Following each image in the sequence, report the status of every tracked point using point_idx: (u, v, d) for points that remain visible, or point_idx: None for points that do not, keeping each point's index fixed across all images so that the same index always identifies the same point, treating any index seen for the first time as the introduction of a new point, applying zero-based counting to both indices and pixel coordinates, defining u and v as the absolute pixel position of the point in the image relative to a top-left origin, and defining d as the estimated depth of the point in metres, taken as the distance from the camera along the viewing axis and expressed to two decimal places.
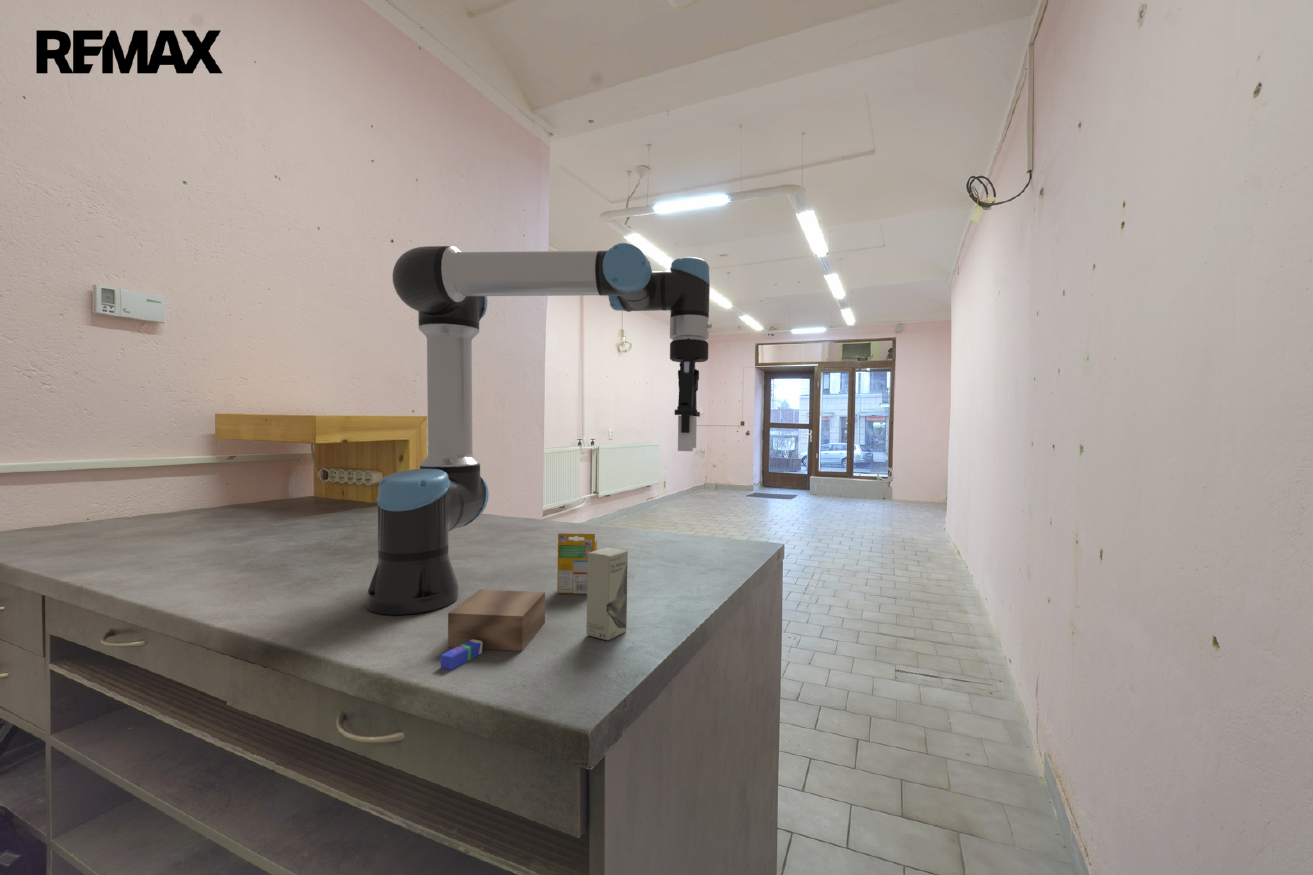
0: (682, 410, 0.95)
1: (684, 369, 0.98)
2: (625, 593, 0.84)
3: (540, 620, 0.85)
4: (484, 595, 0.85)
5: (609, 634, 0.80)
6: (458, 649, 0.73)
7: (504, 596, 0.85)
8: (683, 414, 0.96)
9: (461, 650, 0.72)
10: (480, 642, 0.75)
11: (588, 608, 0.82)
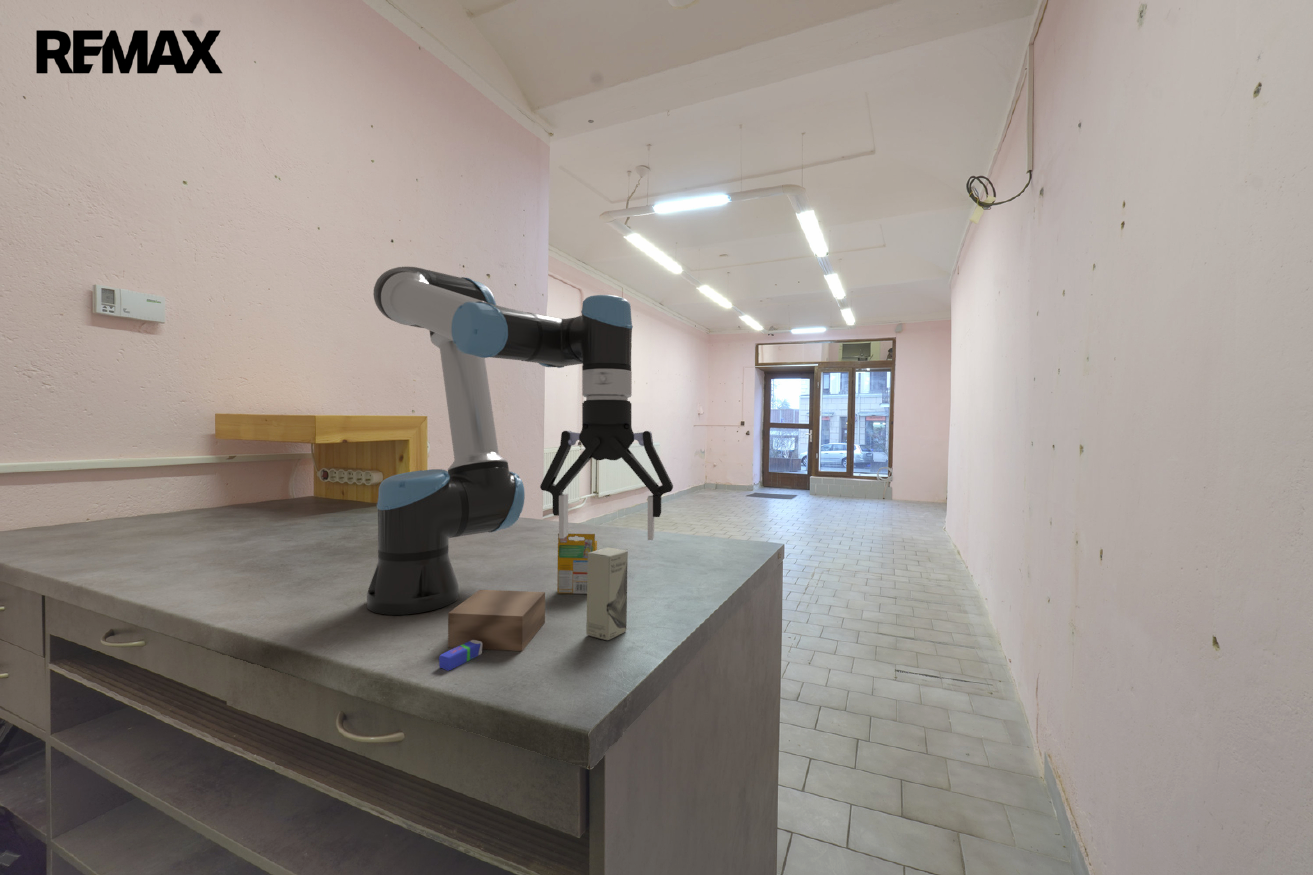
0: None
1: None
2: (625, 593, 0.84)
3: (540, 620, 0.85)
4: (484, 595, 0.85)
5: (609, 634, 0.80)
6: (457, 650, 0.72)
7: (504, 596, 0.85)
8: None
9: (460, 651, 0.72)
10: (480, 643, 0.75)
11: (588, 608, 0.82)
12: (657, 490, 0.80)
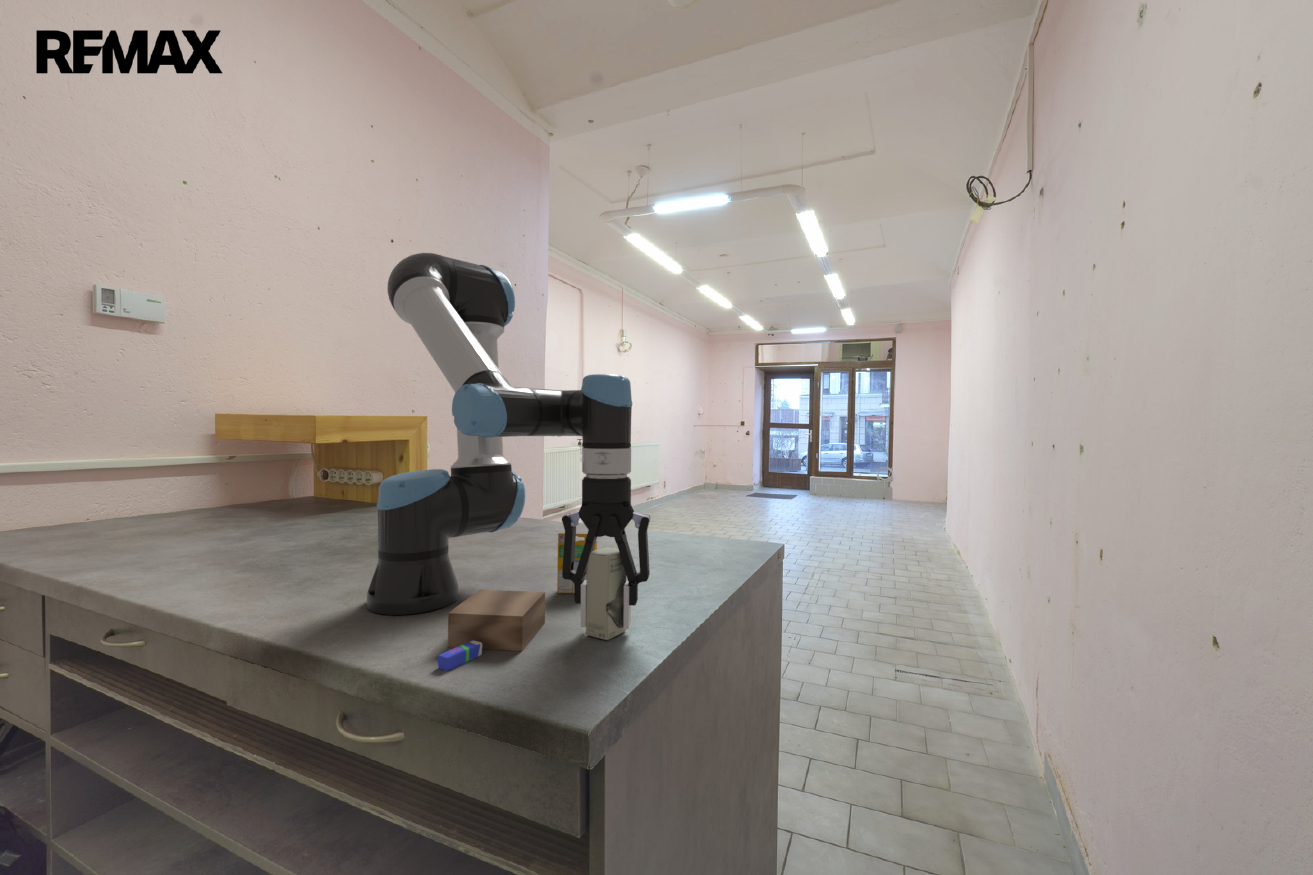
0: None
1: None
2: None
3: (540, 620, 0.85)
4: (484, 595, 0.85)
5: (608, 633, 0.80)
6: (456, 650, 0.72)
7: (504, 596, 0.85)
8: None
9: (459, 651, 0.72)
10: (480, 644, 0.75)
11: (587, 608, 0.82)
12: (634, 580, 0.81)
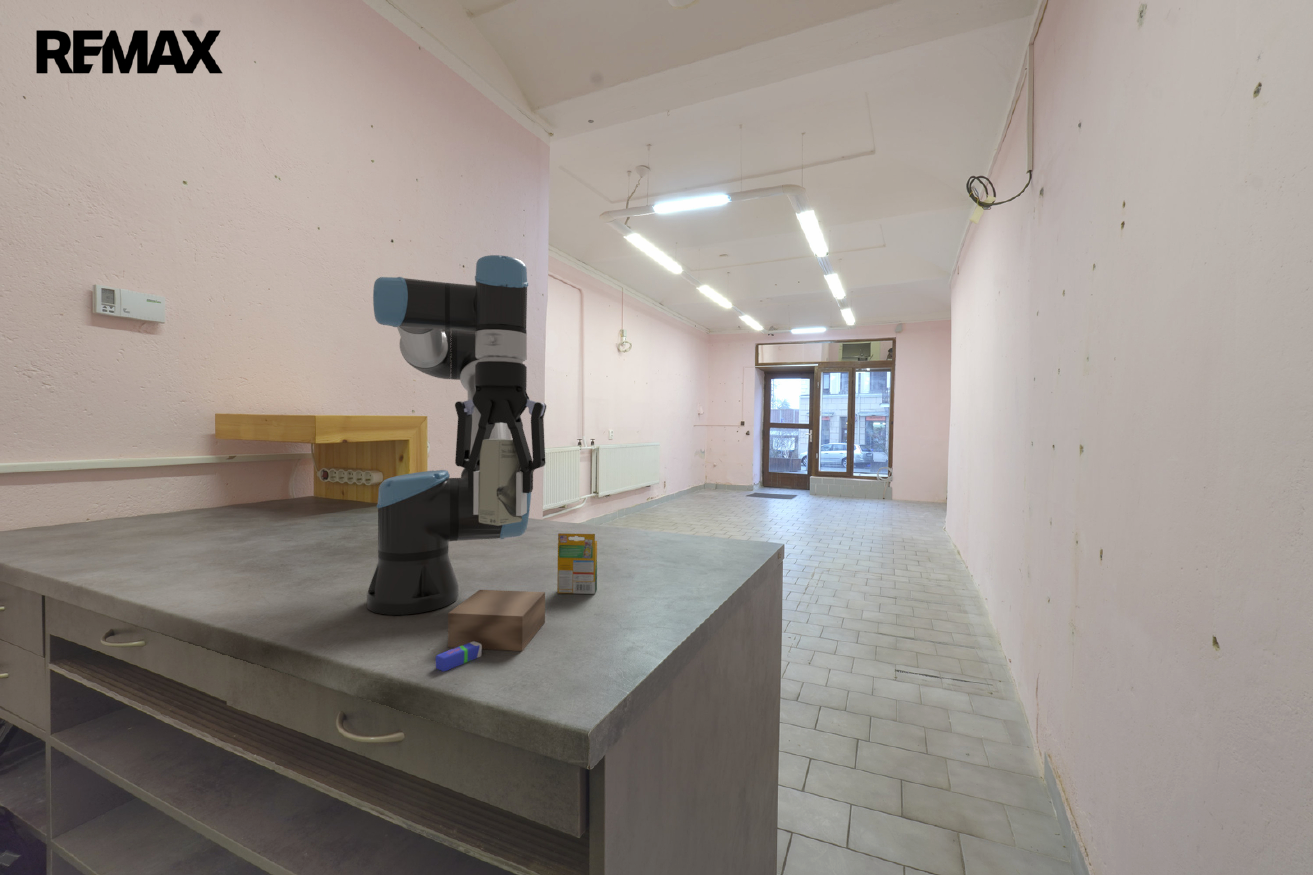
0: None
1: None
2: None
3: (540, 620, 0.85)
4: (484, 595, 0.85)
5: (499, 519, 0.79)
6: (454, 651, 0.72)
7: (504, 596, 0.85)
8: None
9: (457, 652, 0.71)
10: (479, 645, 0.74)
11: (480, 495, 0.81)
12: (526, 466, 0.80)
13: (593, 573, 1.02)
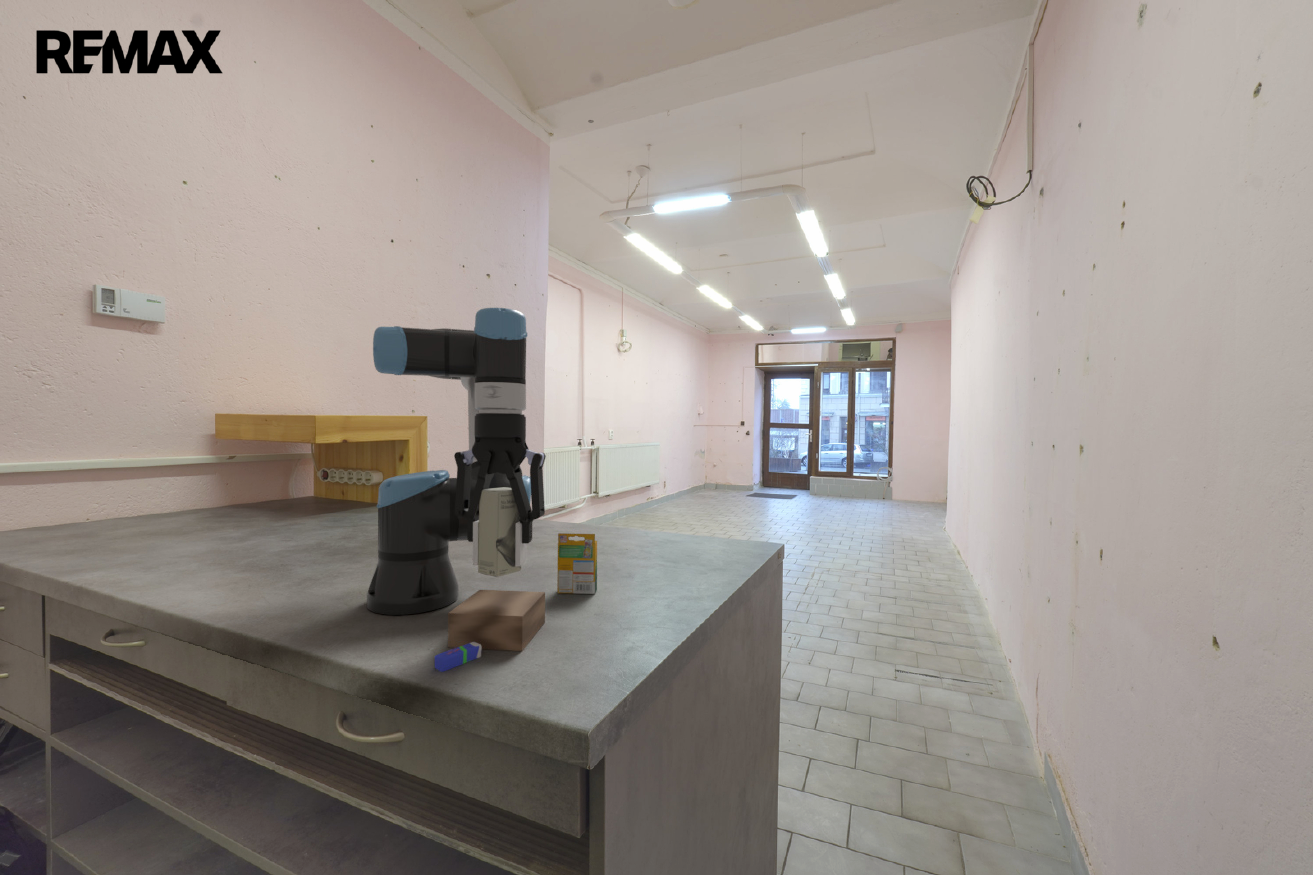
0: None
1: None
2: None
3: (540, 620, 0.85)
4: (484, 595, 0.85)
5: (498, 570, 0.79)
6: (453, 651, 0.72)
7: (504, 596, 0.85)
8: None
9: (455, 653, 0.71)
10: (479, 646, 0.74)
11: (479, 546, 0.81)
12: (526, 517, 0.80)
13: (593, 573, 1.02)
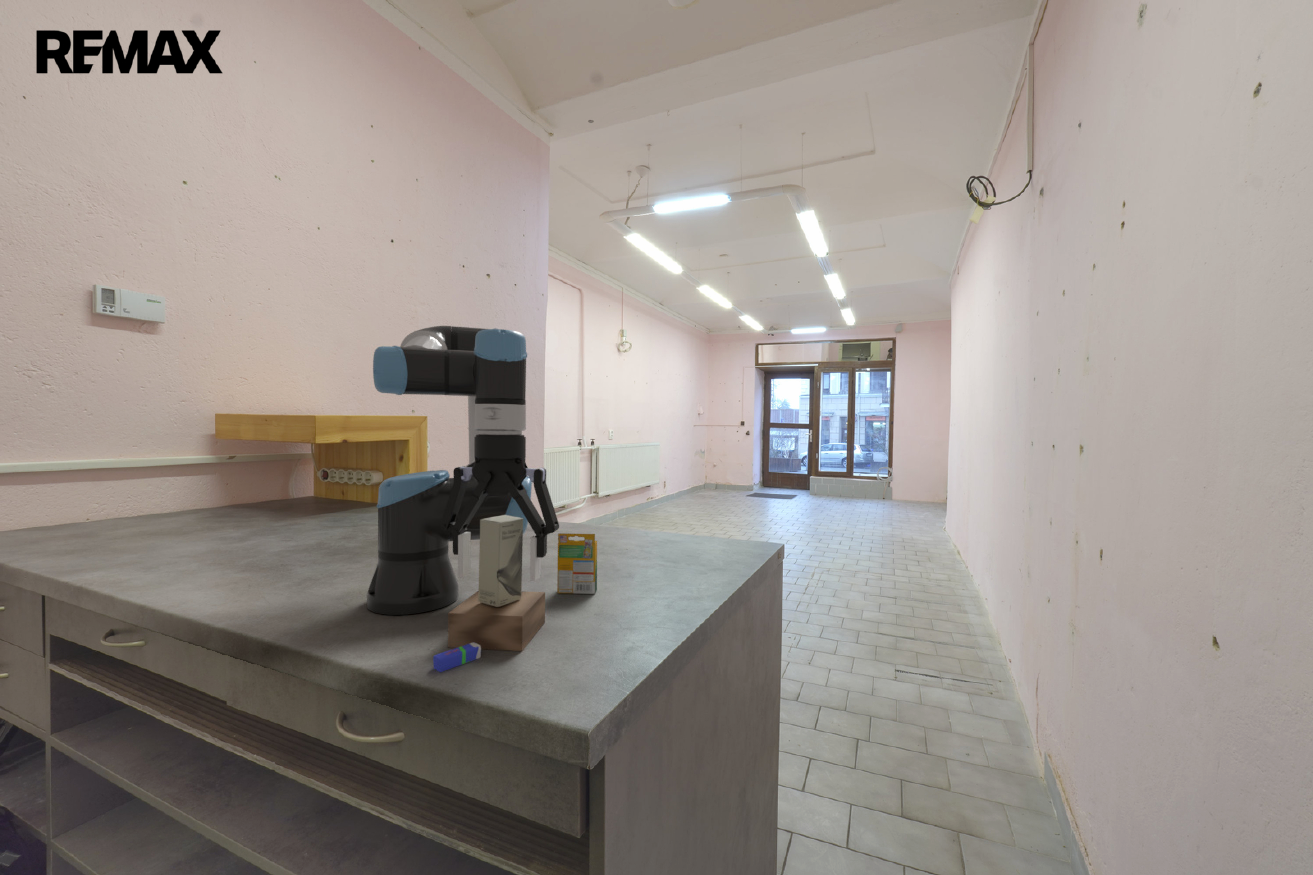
0: None
1: None
2: (520, 560, 0.83)
3: (540, 620, 0.85)
4: None
5: (499, 600, 0.79)
6: (452, 651, 0.72)
7: None
8: None
9: (454, 653, 0.71)
10: (478, 646, 0.74)
11: (480, 575, 0.81)
12: (540, 531, 0.80)
13: (593, 573, 1.02)
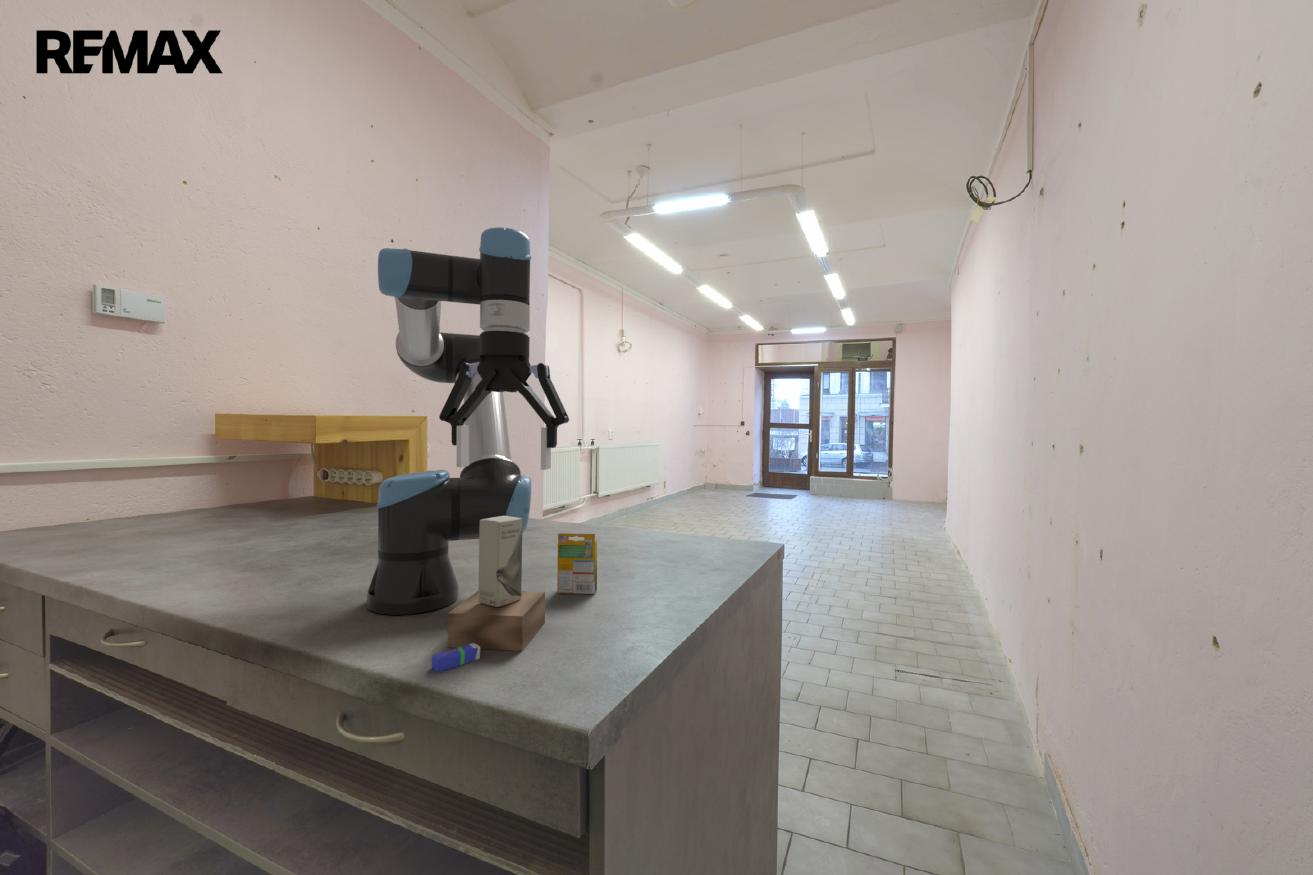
0: None
1: None
2: (520, 560, 0.83)
3: (540, 620, 0.85)
4: None
5: (499, 600, 0.79)
6: (451, 652, 0.72)
7: None
8: None
9: (452, 654, 0.71)
10: (477, 647, 0.74)
11: (480, 575, 0.81)
12: (550, 421, 0.82)
13: (593, 573, 1.02)
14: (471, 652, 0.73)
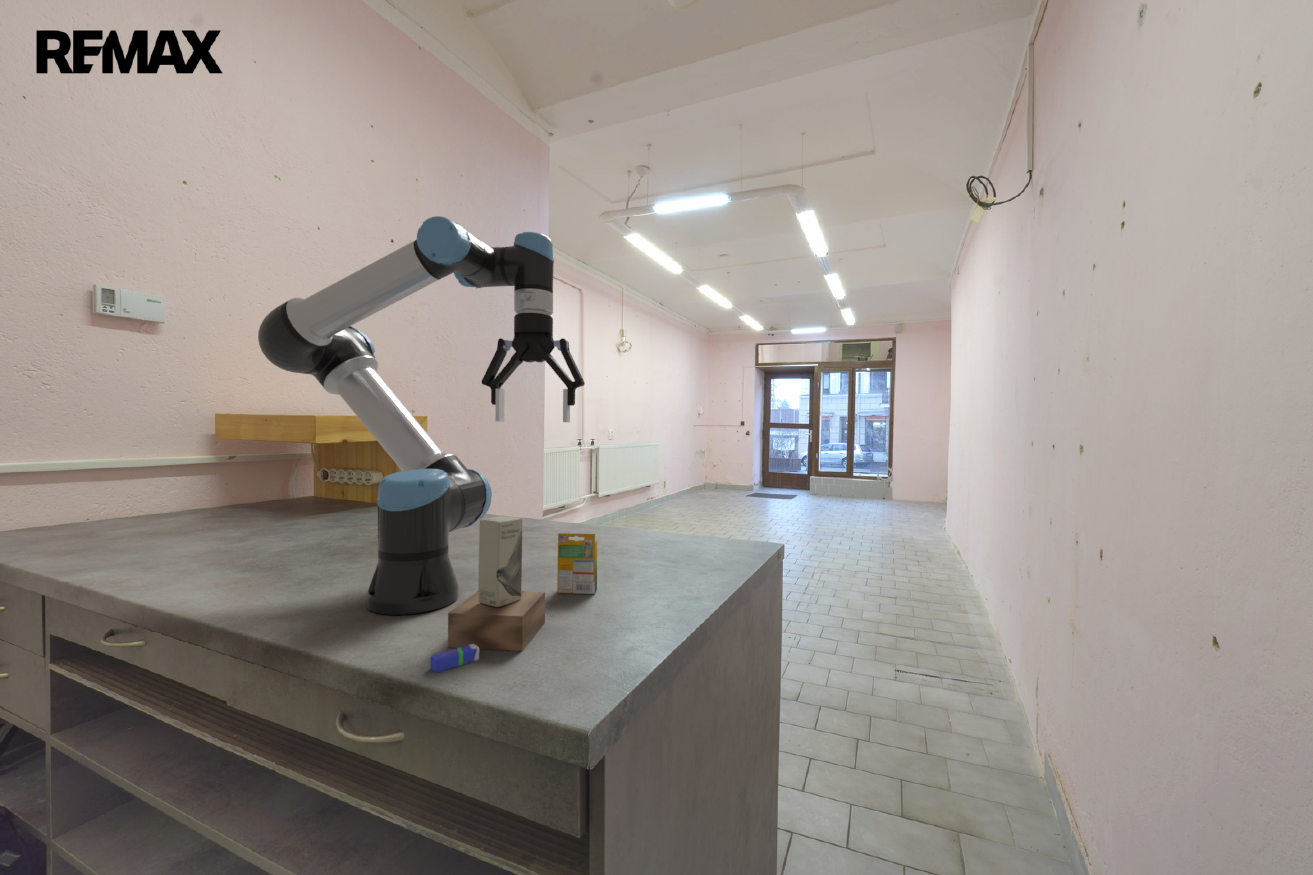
0: None
1: None
2: (520, 560, 0.83)
3: (540, 620, 0.85)
4: None
5: (499, 600, 0.79)
6: (450, 652, 0.72)
7: None
8: None
9: (451, 654, 0.71)
10: (477, 648, 0.73)
11: (480, 575, 0.81)
12: (570, 384, 1.05)
13: (593, 573, 1.02)
14: (470, 653, 0.73)
